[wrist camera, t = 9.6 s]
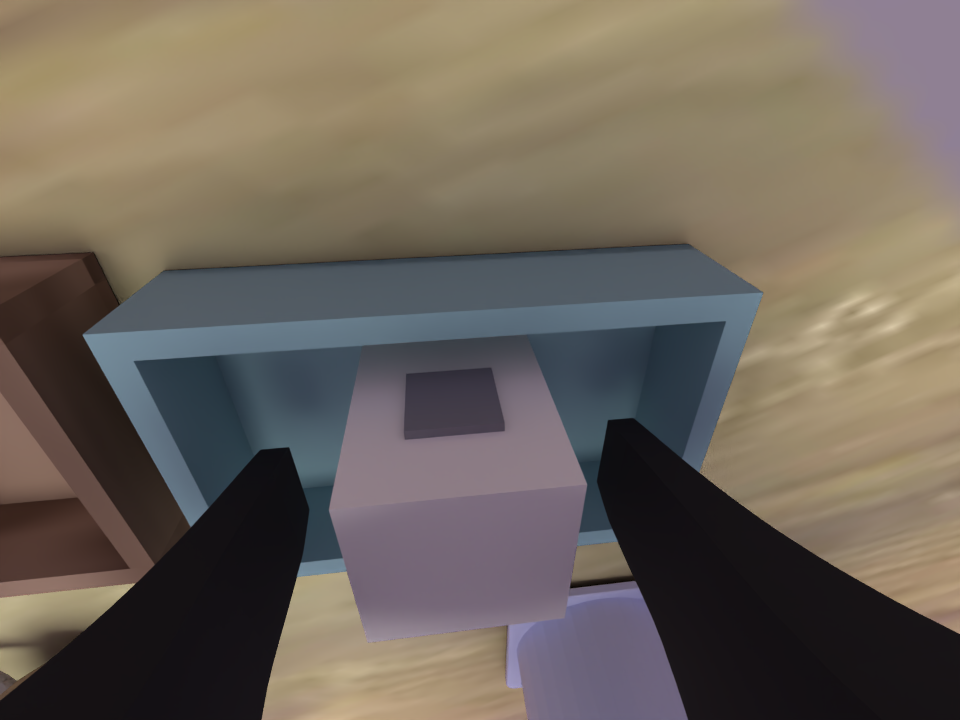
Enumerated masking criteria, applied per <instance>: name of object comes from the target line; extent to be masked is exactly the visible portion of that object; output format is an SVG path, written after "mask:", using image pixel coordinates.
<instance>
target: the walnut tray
mask: <svg viewBox="0 0 960 720" xmlns="http://www.w3.org/2000/svg"><path fill="white" fill-rule="evenodd" d="M118 306H119V304H118V302H117V300H116V298H115V296H114V294H113V292H112V290H111V288H110V286H109V284H108V282H107V280H106V278H105V276H104V274H103V272H102V270H101V268H100V266H99V264H98V262H97V260H96V258H95V256H94V254H93V253H74V254H53V255H32V256H10V257H0V598H2V597H11V596H20V595H30V594H39V593H48V592H57V591H67V590H76V589H85V588H94V587H104V586H113V585H122V584H131V583H137V582H138V581H139V580H140V579H141V578H142V577H143V576H144V575H145V574H146V573H147V572H148V571H149V570H150V569H151V568H152V567H153V566H154V565H155V564H156V563H157V562H158V561H159V560H160V559H161V558H162V557H163V556H164V555H165V554H166V553H167V552H168V551H169V550H170V549H171V548H172V547H173V546H174V545H175V544H176V543H177V542H178V541H179V539H180V538H181V537H182V536H183V535H184V534H185V533H186V532H187V531H188V530H189V529H190V528H191V526H190V525H189V523H188V521H187V519H186V518H185V516H184V514H183V512H182V510H181V509H180V507H179V505H178V503H177V502H176V500H175V498H174V496H173V495H172V493H171V491H170V489H169V487H168V486H167V484H166V482H165V480H164V479H163V477H162V475H161V473H160V471H159V470H158V468H157V466H156V464H155V463H154V461H153V459H152V457H151V456H150V454H149V452H148V450H147V448H146V447H145V445H144V443H143V441H142V440H141V438H140V436H139V434H138V433H137V431H136V429H135V427H134V425H133V424H132V422H131V420H130V418H129V417H128V415H127V413H126V411H125V409H124V408H123V406H122V404H121V402H120V401H119V399H118V397H117V395H116V394H115V392H114V390H113V388H112V386H111V385H110V383H109V381H108V379H107V378H106V376H105V374H104V372H103V371H102V369H101V367H100V365H99V363H98V362H97V360H96V358H95V356H94V355H93V353H92V351H91V349H90V348H89V346H88V344H87V342H86V340H85V339H84V337H83V334H84V333H85V332H86V331H88V330H89V329H90V328H91V327H93V326H94V325H95V324H97V323H98V322H99V321H100V320H102V319H103V318H104V317H105V316H107V315H108V314H109V313H111V312H112V311H113V310H114V309H116V308H117V307H118Z"/></svg>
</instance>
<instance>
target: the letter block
mask: <svg viewBox="0 0 960 720" xmlns="http://www.w3.org/2000/svg"><path fill="white" fill-rule="evenodd" d="M586 489H587V483H586V480H585V478H584V475H583V473H582V470H581V468H580V465H579V463H578V460H577V458H576V455H575V453H574V451H573V448H572V446H571V443H570V441H569V438H568V436H567V433H566V431H565V428H564V426H563V423H562V421H561V418H560V416H559V414H558V411H557V409H556V406H555V404H554V401H553V399H552V396H551V394H550V391H549V389H548V386H547V384H546V381H545V379H544V376H543V374H542V372H541V369H540V367H539V364H538V362H537V359H536V357H535V354H534V352H533V349H532V347H531V344H530V342H529V339H528V337H527V335H512V336H497V337H483V338H468V339H453V340H438V341H423V342H408V343H393V344H379V345H364V346H362V351H361V355H360V360H359V365H358V370H357V375H356V380H355V385H354V389H353V394H352V399H351V404H350V409H349V414H348V419H347V424H346V428H345V433H344V438H343V443H342V448H341V453H340V458H339V462H338V467H337V472H336V477H335V482H334V487H333V492H332V496H331V501H330V506H329V513H330V516H331V519H332V523H333V526H334V530H335V533H336V536H337V540H338V543H339V546H340V550H341V553H342V557H343V560H344V563H345V567H346V570H347V574H348V577H349V580H350V584H351V587H352V590H353V594H354V597H355V601H356V604H357V607H358V611H359V614H360V617H361V621H362V624H363V628H364V631H365V634H366V638H367V641H368V643H369V642H377V641H385V640H393V639H401V638H409V637H417V636H425V635H433V634H441V633H450V632H458V631H466V630H474V629H482V628H490V627H498V626H506V625H514V624H522V623H530V622H538V621H546V620H554V619H562V618H565V613H566V607H567V601H568V595H569V589H570V584H571V578H572V572H573V566H574V560H575V554H576V548H577V542H578V536H579V530H580V524H581V518H582V513H583V507H584V501H585V495H586Z"/></svg>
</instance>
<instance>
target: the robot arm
mask: <svg viewBox="0 0 960 720" xmlns="http://www.w3.org/2000/svg"><path fill="white" fill-rule="evenodd" d="M597 484H598V488H599V491H600V494H601V498H602V501H603V504H604V507H605V511H606V514H607V517H608V520H609V523H610V525H611V527H612V530H613V532H614V534H615V536H616V539H617V541H618V543H619V545H620V548H621V550H622V552H623V554H624V557H625V559H626V561H627V563H628V565H629V568H630V570H631V572H632V574H633V576H634V579H635V581H629V582H621V583H612V584H604V585H596V586H587V587H579V588H570V589H569V595H568V601H567V607H566V613H565V618H562V619H554V620H546V621H538V622H530V623H522V624H514V625H508V627H507V652H506V676H505V678H506V685H507V686H508V687H509V688H521V687H523V693H524V699H525V705H526V711H527V717H528V720H960V634H958V633H956V632H955V631H953V630H951V629H949V628H947V627H945V626H943V625H941V624H939V623H937V622H935V621H933V620H931V619H929V618H927V617H925V616H923V615H921V614H919V613H917V612H915V611H913V610H911V609H909V608H908V607H906V606H904V605H902V604H900V603H898V602H896V601H894V600H893V599H891V598H889V597H887V596H885V595H883V594H882V593H880V592H878V591H876V590H874V589H873V588H871V587H869V586H867V585H866V584H864V583H862V582H860V581H859V580H857V579H855V578H853V577H852V576H850V575H848V574H846V573H845V572H843V571H841V570H839V569H838V568H836V567H834V566H833V565H831V564H829V563H828V562H826V561H824V560H823V559H821V558H819V557H818V556H816V555H815V554H813V553H812V552H810V551H808V550H807V549H805V548H804V547H802V546H801V545H799V544H798V543H796V542H794V541H793V540H791V539H790V538H788V537H787V536H785V535H784V534H782V533H780V532H779V531H777V530H776V529H775V528H773V527H772V526H770V525H769V524H767V523H766V522H764V521H763V520H761V519H760V518H759V517H757V516H756V515H754V514H753V513H752V512H750V511H749V510H748V509H746V508H745V507H743V506H742V505H741V504H739V503H738V502H737V501H735V500H734V499H732V498H731V497H730V496H728V495H727V494H726V493H725V492H723V491H722V490H721V489H719V488H718V487H717V486H715V485H714V484H713V483H712V482H710V481H709V480H708V479H707V478H705V477H704V476H703V475H702V474H700V473H699V472H698V471H697V470H695V469H694V468H693V467H692V466H690V465H689V464H688V463H687V462H686V461H684V460H683V459H682V458H681V457H680V456H678V455H677V454H676V453H675V452H674V451H672V450H671V449H670V448H669V447H668V446H666V445H665V444H664V443H663V442H662V441H661V440H659V439H658V438H657V437H656V436H655V435H653V434H652V433H651V432H650V431H649V430H648V429H646V428H645V427H644V426H643V425H642V424H640V423H639V422H638V421H637V420H635V419H634V418H625V419H613V420H608V422H607V428H606V433H605V439H604V444H603V449H602V455H601V460H600V466H599V471H598V477H597ZM309 510H310V509H309V506H308V503H307V500H306V497H305V494H304V491H303V488H302V485H301V482H300V478H299V475H298V472H297V469H296V466H295V463H294V460H293V457H292V454H291V451H290V448H289V447H284V448H272V449H261V450H260V451H259V452H258V453H257V454H256V455H255V456H254V457H253V458H252V459H251V460H250V462H249V463H248V464H247V465H246V466H245V467H244V468H243V469H242V471H241V472H240V473H239V474H238V475H237V476H236V477H235V479H234V480H233V481H232V482H231V483H230V484H229V485H228V487H227V488H226V489H225V490H224V491H223V492H222V493H221V494H220V496H219V497H218V498H217V499H216V500H215V501H214V502H213V504H212V505H211V506H210V507H209V508H208V509H207V510H206V511H205V512H204V513H203V514H202V516H201V517H200V518H199V519H198V520H197V521H196V522H195V523H194V524H193V525H192V527H191V528H190V529H189V530H188V531H187V532H186V533H185V534H184V535H183V536H182V537H181V538H180V539H179V541H178V542H177V543H176V544H175V545H174V546H173V547H172V548H171V549H170V550H169V551H168V552H167V553H166V554H165V555H164V556H163V557H162V558H161V559H160V560H159V561H158V562H157V563H156V564H155V565H154V566H153V567H152V568H151V569H150V570H149V571H148V572H147V573H146V574H145V575H144V576H143V577H142V578H141V579H140V580H139V581H138V582H137V583H136V584H135V585H134V586H133V587H132V588H131V589H130V590H129V591H128V592H127V593H126V594H124V595H123V596H122V597H121V598H120V599H119V600H118V601H117V602H116V603H115V604H114V605H113V606H112V607H110V608H109V609H108V610H107V611H106V612H105V613H104V614H103V615H102V616H100V617H99V618H98V619H97V620H96V621H95V622H94V623H93V624H91V625H90V626H89V627H88V628H87V629H86V630H85V631H84V632H82V633H81V634H80V635H79V636H78V637H77V638H76V639H74V640H73V641H72V642H71V643H70V644H69V645H67V646H66V647H65V648H64V649H63V650H61V651H60V652H59V653H58V654H57V655H55V656H54V657H53V658H52V659H50V660H49V661H48V662H47V663H46V664H44V665H43V666H42V667H41V668H39V669H38V670H37V671H36V672H35V673H33V674H32V675H31V676H30V677H28V678H27V679H26V680H25V681H24V682H22V683H21V684H20V685H19V686H17V687H16V688H15V689H14V690H13V691H11V692H10V693H9V694H8V695H6V696H5V697H4V698H3V699H2V700H0V720H261V719H262V714H263V708H264V703H265V697H266V692H267V687H268V683H269V678H270V674H271V670H272V666H273V662H274V658H275V655H276V651H277V647H278V644H279V640H280V637H281V633H282V629H283V626H284V622H285V619H286V615H287V611H288V608H289V604H290V601H291V597H292V593H293V590H294V586H295V582H296V579H297V575H298V571H299V568H300V564H301V560H302V556H303V551H304V545H305V539H306V532H307V525H308V517H309Z"/></svg>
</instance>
